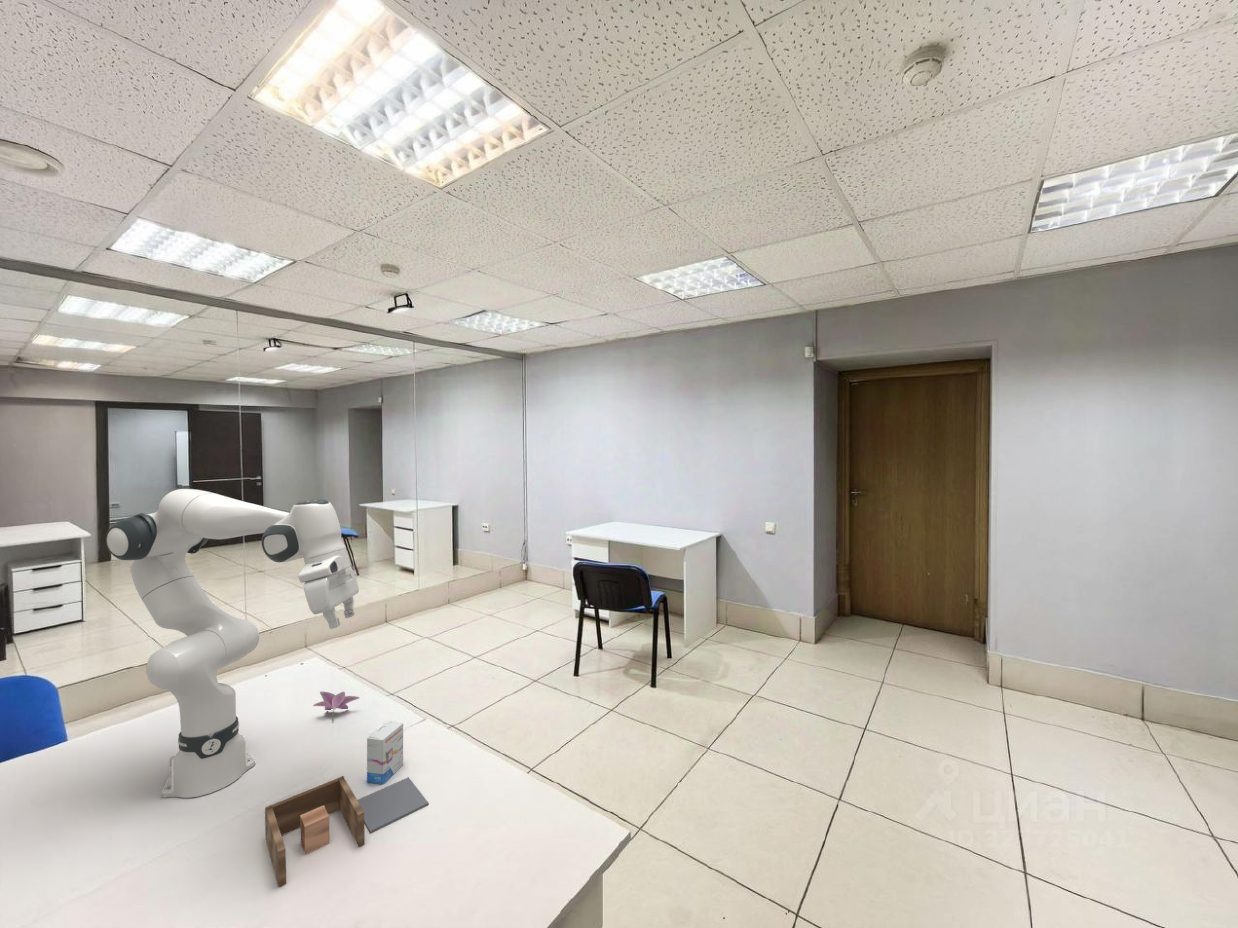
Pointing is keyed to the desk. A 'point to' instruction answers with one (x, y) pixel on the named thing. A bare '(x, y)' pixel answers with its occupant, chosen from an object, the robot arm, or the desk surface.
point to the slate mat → (391, 804)
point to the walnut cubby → (288, 812)
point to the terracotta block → (314, 829)
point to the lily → (335, 701)
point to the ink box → (384, 752)
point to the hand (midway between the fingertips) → (343, 621)
